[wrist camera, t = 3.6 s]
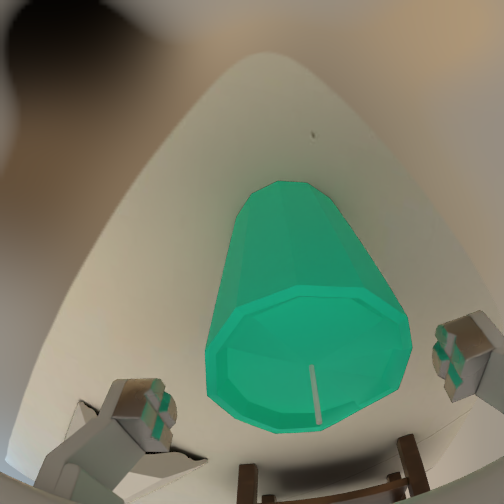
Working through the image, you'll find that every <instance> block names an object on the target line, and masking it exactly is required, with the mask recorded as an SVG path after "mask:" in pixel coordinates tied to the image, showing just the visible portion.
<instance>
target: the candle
mask: <svg viewBox="0 0 504 504" xmlns="http://www.w3.org/2000/svg"><path fill="white" fill-rule="evenodd" d="M411 351H412V341H411V334H410V328H409V322H408V317H407V315H406V314H405V312H404V310H403V308H402V307H401V305H400V303H399V302H398V300H397V298H396V297H395V295H394V293H393V292H392V290H391V289H390V287H389V285H388V284H387V282H386V280H385V279H384V277H383V276H382V274H381V272H380V271H379V269H378V268H377V266H376V265H375V263H374V262H373V260H372V258H371V257H370V255H369V254H368V252H367V251H366V249H365V248H364V246H363V245H362V243H361V242H360V240H359V239H358V237H357V236H356V234H355V233H354V231H353V230H352V229H351V227H350V226H349V224H348V223H347V221H346V220H345V218H344V217H343V216H342V214H341V213H340V211H339V210H338V209H337V207H336V206H335V204H334V203H333V202H332V200H331V199H330V198H329V197H327V196H326V195H324V194H323V193H322V192H320V191H319V190H317V189H316V188H314V187H313V186H311V185H310V184H308V183H303V182H288V181H277V182H275V183H272V184H270V185H268V186H266V187H264V188H262V189H260V190H258V191H256V192H254V193H252V194H251V195H250V197H249V198H248V200H247V202H246V203H245V205H244V206H243V208H242V209H241V211H240V212H239V214H238V215H237V217H236V221H235V225H234V229H233V233H232V237H231V241H230V245H229V249H228V254H227V258H226V262H225V266H224V270H223V274H222V279H221V283H220V287H219V292H218V296H217V300H216V304H215V309H214V313H213V318H212V322H211V326H210V331H209V335H208V340H207V344H206V349H205V365H206V386H207V396H208V397H209V398H211V399H212V400H213V401H214V402H215V403H217V404H218V405H219V406H220V407H221V408H223V409H224V410H225V411H226V412H227V413H229V414H230V415H231V416H232V417H234V418H235V419H238V420H240V421H243V422H245V423H248V424H250V425H253V426H256V427H258V428H261V429H264V430H267V431H269V432H272V433H275V434H278V433H300V432H315V431H322V430H324V429H326V428H328V427H330V426H332V425H333V424H335V423H337V422H339V421H341V420H343V419H345V418H347V417H348V416H350V415H352V414H354V413H356V412H357V411H359V410H361V409H363V408H364V407H366V406H368V405H370V404H372V403H374V402H376V401H378V400H380V399H382V398H383V397H385V396H387V395H389V394H391V393H392V392H394V391H396V390H398V388H399V386H400V383H401V380H402V378H403V375H404V372H405V369H406V366H407V363H408V360H409V357H410V354H411Z"/></svg>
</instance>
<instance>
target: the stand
mask: <svg viewBox="0 0 504 504" xmlns="http://www.w3.org/2000/svg"><path fill="white" fill-rule="evenodd" d="M397 448H398V451H399V455H400V458H401V462H402V466H403V469H404V473H405V477H406V478H403V479H401V475H400V472H397V473H394V474H390V475H388V477H387V483H385V484H382V485H378V486H374V487H370V488H366V489H361V490H357V491H352V492H347V493H342V494H337V495H331V496H325V497H318V498H311V499H304V500H295V501H285V502H276V497H275V496H274V495H267V496H262V503H257V487H258V469H257V467H256V466H255V464H244V465H239V476H238V490H237V504H392V503H395V502H398V501H402V500H405V499H406V495H405V491H406V489H407V487H408V489H409V493H410V497H414V496H417V495H420V494H422V493H425V492H428V491H430V487H429V484H428V481H427V477H426V473H425V470H424V467H423V463H422V460H421V457H420V454H419V451H418V447H417V444H416V441H415V438H414V435H413V434H410V435H407V436H404V437H401V438H399V439H398V442H397Z"/></svg>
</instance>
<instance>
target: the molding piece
mask: <svg viewBox="0 0 504 504" xmlns="http://www.w3.org/2000/svg"><path fill="white" fill-rule="evenodd" d="M93 417H96V418H97V417H98V416H97V415H96V413H95V411H94V410H93V409H91V408H88V407H87V405H84V402H78V405H77V407H76V410H75V413H74V415H73V418H72V421H71V423H70V426H69V429H68V432H67V435H66V438H65V440H66V439H68V438H69V437H70V436H71V435H73V434H74V433H75V432H76V431H78V430H79V429H80V428H81V427H82V426H84V425H85V424H86V423H87V422H89V421H90V420H91V419H92V418H93ZM65 440H64V441H65ZM206 463H208V461H207V460H206V459H203V460H200V461H194V460H192V459H191V458H188V457H187V456H186V455H185V454H182V453H178V452H169V453H160V454H144V455H143V456H142V457H141V459H140V460H139V461H138V462H137V463H136V465H135V466H134V467H133V468H132V469H131V470H130V472H129V473H128V474H127V475H126V476H125V477H124V478H123V480H122V481H121V482H120V483H119V484H118V485H117V487H116V488H115V489H114V490H113V491H112V492H114V493H115V494H117V495H118V496H119V497H121V498H122V499H123V500H124V502H125V503H124V504H127V503H130V502H133V501H135V500H137V499H139V498H141V497H144V496H146V495H148V494H150V493H152V492H154V491H156V490H158V489H160V488H162V487H164V486H166V485H168V484H170V483H172V482H174V481H176V480H178V479H179V478H181V477H183V476H185V475H187V474H189V473H190V472H192V471H194V470H196V469H198V468H199V467H201V466H203V465H205V464H206Z"/></svg>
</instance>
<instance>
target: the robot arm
mask: <svg viewBox="0 0 504 504" xmlns="http://www.w3.org/2000/svg"><path fill="white" fill-rule="evenodd" d="M435 336H436V338H437V340H438V341H437V343H436V344H435V345H434V347H433V352H432V359H433V365H434V368H435V371H436V373H437V375H438V376H439V377H441V378H443V379H445V384H444V388H445V390H446V392H447V394H448V396H449V398H450V400H451V402H452V403H453V402H456V401H458V400H461V399H463V398H466V397H468V396H471V395H473V394H476V396H478V397H479V398H481V399H482V400H484V401H485V402H487V403H488V404H490V405H491V406H493V407H494V408H496V409H497V410H499V411H500V412H502V413H503V414H504V336H503V335H502V333H501V332H500V331H499V330H498V329H497V327H496V326H495V325H494V324H493V323H492V321H491V320H490V319H489V318H488V317H487V315H486V314H485V313H484V312H483V311H480V310H479V311H476V312H474V313H471V314H468V315H466V316H463V317H460V318H457V319H455V320H452V321H449V322H446V323H443V324H440V325H438V327H437V329H436V333H435ZM164 389H165V385H164V384H163V382H162V381H161V379H157V378H151V379H116V380H115V381H114V382H113V383H112V385H111V387H110V389H109V392H108V394H107V396H106V398H105V401H104V403H103V405H102V407H101V410H100V412H99V414H98V417H97V418H96V417H93V418H92V419H91V420H90V421H89V422H87V423H86V424H85V425H84V426H82V427H81V428H80V429H79V430H78V431H76V432H75V433H74V434H73V435H71V436H70V437H69V438H68V439H66V440H65V441H64V442H63V443H62V444H60V445H59V446H58V447H57V448H55V449H54V450H53V451H52V452H50V453H49V454H48V455H47V456H46V458H45V460H44V462H43V464H42V467H41V469H40V471H39V474H38V476H37V478H36V481H35V483H34V486H30V485H28V484H26V483H23V482H21V481H19V480H17V479H14V478H12V477H10V476H8V475H6V474H4V473H2V472H0V504H124V503H125V502H124V500H123V499H122V498H121V497H119V496H118V495H117V494H115V493H114V492H112V491H113V490H114V489H115V488H116V487H117V485H118V484H119V483H120V482H121V481H122V480H123V478H124V477H125V476H126V475H127V474H128V473H129V472H130V470H131V469H132V468H133V467H134V466H135V465H136V463H137V462H138V461H139V460H140V459H141V457H142V456H143V455H144V454H145V452H169V450H170V446H171V441H172V437H173V434H172V432H171V431H170V428H171V427H172V426H173V425H174V424H175V423H176V419H177V407H176V404H175V401H174V399H173V398H172V396H171V395H170V394H168V393H166V392H165V391H164ZM392 504H504V456H503V457H501V458H499V459H498V460H496V461H494V462H492V463H490V464H488V465H486V466H485V467H483V468H481V469H479V470H477V471H475V472H472V473H470V474H468V475H467V476H464V477H462V478H460V479H457V480H455V481H453V482H451V483H448V484H446V485H443V486H441V487H438V488H436V489H433V490H431V491H428V492H425V493H422V494H420V495H417V496H414V497H411V498H408V499H405V500H402V501H398V502H395V503H392Z"/></svg>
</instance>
